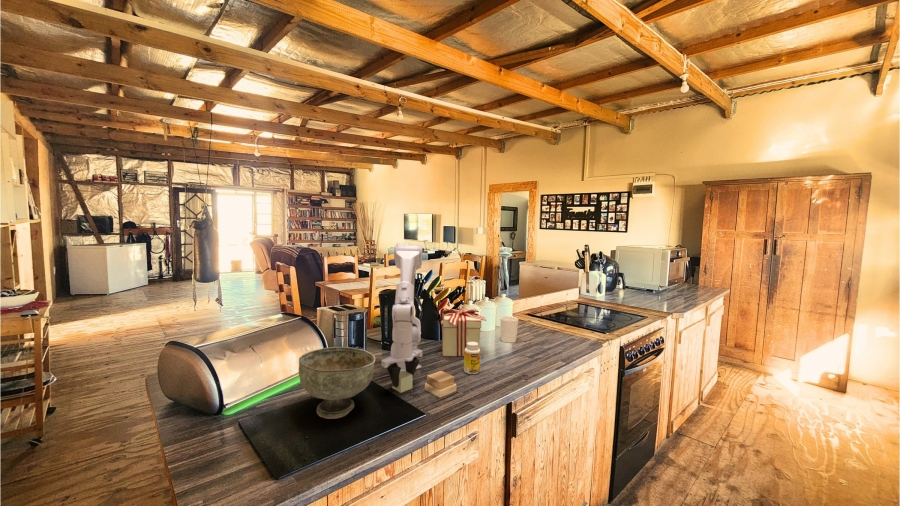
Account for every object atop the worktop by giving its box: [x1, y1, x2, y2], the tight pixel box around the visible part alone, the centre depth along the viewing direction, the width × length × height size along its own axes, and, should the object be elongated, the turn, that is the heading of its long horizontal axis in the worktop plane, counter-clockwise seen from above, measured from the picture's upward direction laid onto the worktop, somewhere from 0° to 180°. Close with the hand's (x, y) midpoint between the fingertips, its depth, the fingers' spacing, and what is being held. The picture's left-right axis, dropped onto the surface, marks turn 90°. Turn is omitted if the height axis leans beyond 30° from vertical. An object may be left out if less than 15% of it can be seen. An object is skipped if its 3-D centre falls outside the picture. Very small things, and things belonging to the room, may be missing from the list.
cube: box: [391, 371, 414, 394], centre depth 116 cm, size 4×4×4 cm
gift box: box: [441, 308, 487, 357], centre depth 149 cm, size 17×18×17 cm
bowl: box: [298, 346, 376, 420], centre depth 102 cm, size 20×19×15 cm
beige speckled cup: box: [499, 315, 519, 344], centre depth 165 cm, size 8×8×10 cm
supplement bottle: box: [463, 342, 481, 375], centre depth 130 cm, size 6×6×10 cm
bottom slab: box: [424, 382, 457, 398], centre depth 115 cm, size 7×7×2 cm
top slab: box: [426, 370, 455, 390], centre depth 115 cm, size 6×6×2 cm
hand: (402, 383), depth 116 cm, fingers open, 5 cm apart
